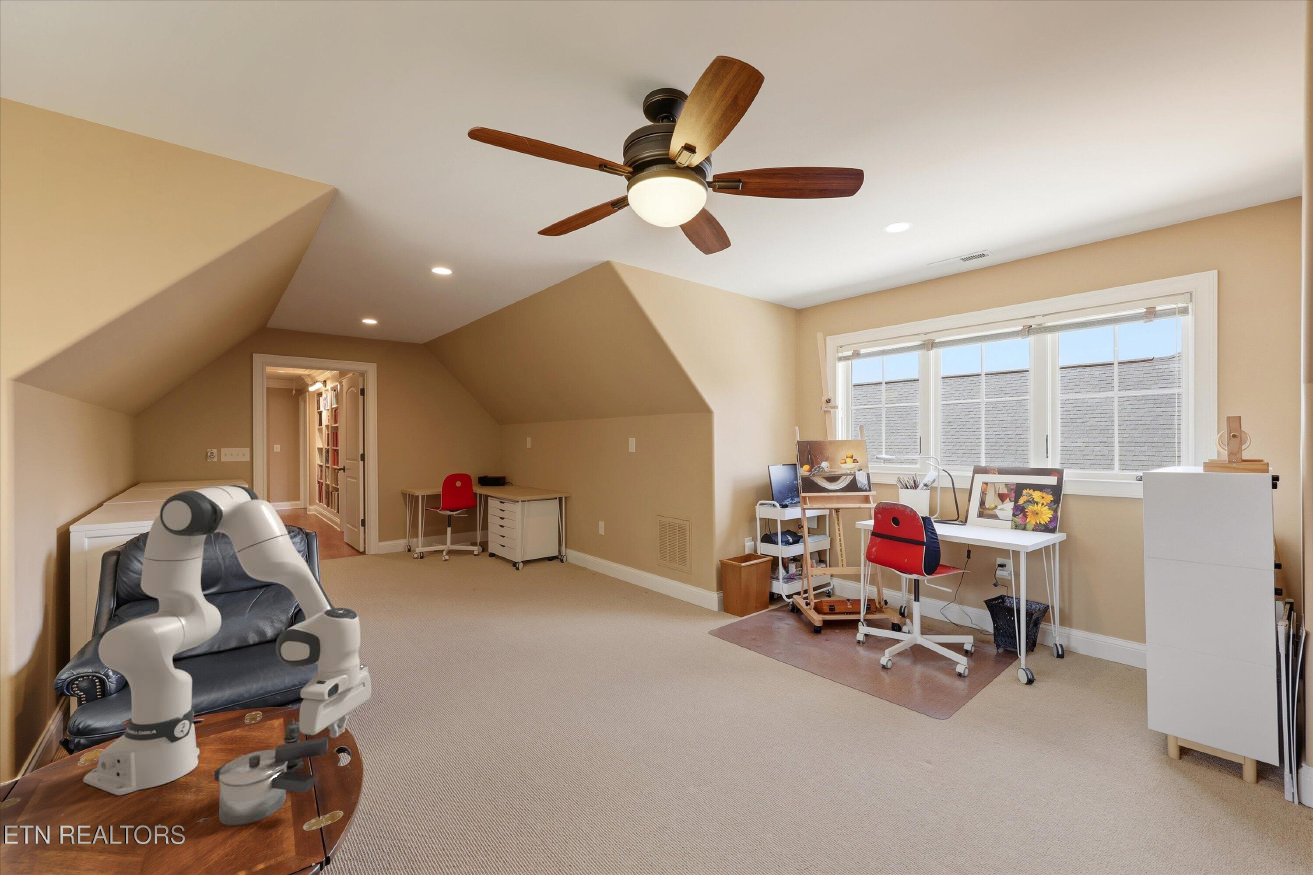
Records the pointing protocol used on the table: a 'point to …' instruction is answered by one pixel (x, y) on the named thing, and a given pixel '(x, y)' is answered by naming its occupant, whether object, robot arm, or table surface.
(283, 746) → the lid
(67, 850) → the table surface
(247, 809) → the pot
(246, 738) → the table surface
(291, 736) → the grey round vessel
